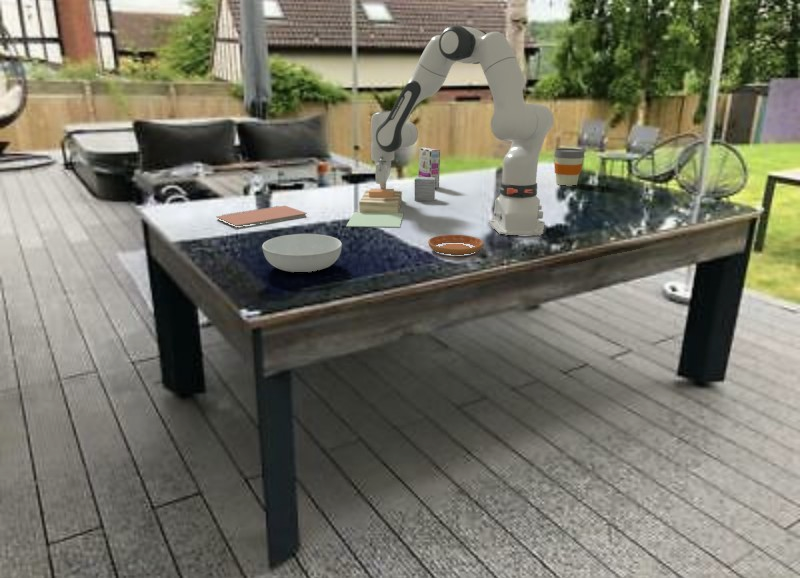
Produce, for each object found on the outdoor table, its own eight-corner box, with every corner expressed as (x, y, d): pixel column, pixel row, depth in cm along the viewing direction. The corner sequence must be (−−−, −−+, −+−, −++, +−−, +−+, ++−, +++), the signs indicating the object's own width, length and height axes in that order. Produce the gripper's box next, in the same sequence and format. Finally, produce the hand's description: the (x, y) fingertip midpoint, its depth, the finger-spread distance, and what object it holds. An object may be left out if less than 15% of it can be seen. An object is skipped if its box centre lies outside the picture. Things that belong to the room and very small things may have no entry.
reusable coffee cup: (546, 182, 284) (549, 148, 278) (571, 181, 287) (574, 147, 282) (561, 187, 272) (564, 152, 267) (586, 186, 276) (590, 151, 271)
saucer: (457, 240, 195) (458, 231, 194) (494, 252, 183) (494, 242, 182) (417, 249, 186) (417, 239, 185) (452, 262, 174) (453, 252, 173)
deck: (397, 213, 228) (397, 202, 227) (359, 213, 229) (359, 202, 228) (401, 200, 249) (401, 190, 247) (366, 200, 250) (366, 190, 248)
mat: (399, 227, 209) (399, 226, 209) (346, 226, 210) (346, 225, 210) (403, 213, 228) (403, 212, 228) (354, 212, 229) (354, 212, 229)
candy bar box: (439, 188, 271) (440, 149, 266) (429, 189, 269) (430, 150, 264) (428, 184, 281) (428, 146, 275) (417, 185, 279) (418, 147, 273)
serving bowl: (319, 284, 157) (318, 258, 154) (248, 275, 164) (246, 249, 162) (355, 261, 175) (354, 237, 173) (290, 253, 182) (288, 230, 180)
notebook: (283, 209, 237) (283, 204, 236) (307, 217, 224) (307, 212, 224) (215, 220, 221) (214, 215, 220) (236, 230, 208) (235, 224, 208)
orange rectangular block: (392, 197, 235) (392, 192, 235) (368, 197, 236) (368, 191, 235) (394, 194, 241) (394, 188, 240) (370, 193, 241) (370, 188, 241)
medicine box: (434, 198, 252) (435, 177, 249) (434, 201, 248) (434, 179, 245) (415, 198, 252) (415, 176, 249) (414, 200, 248) (414, 178, 245)
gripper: (388, 159, 228) (389, 197, 232) (393, 151, 247) (393, 186, 252) (371, 159, 228) (372, 196, 233) (377, 151, 247) (377, 186, 252)
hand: (383, 191), depth 242 cm, fingers closed
